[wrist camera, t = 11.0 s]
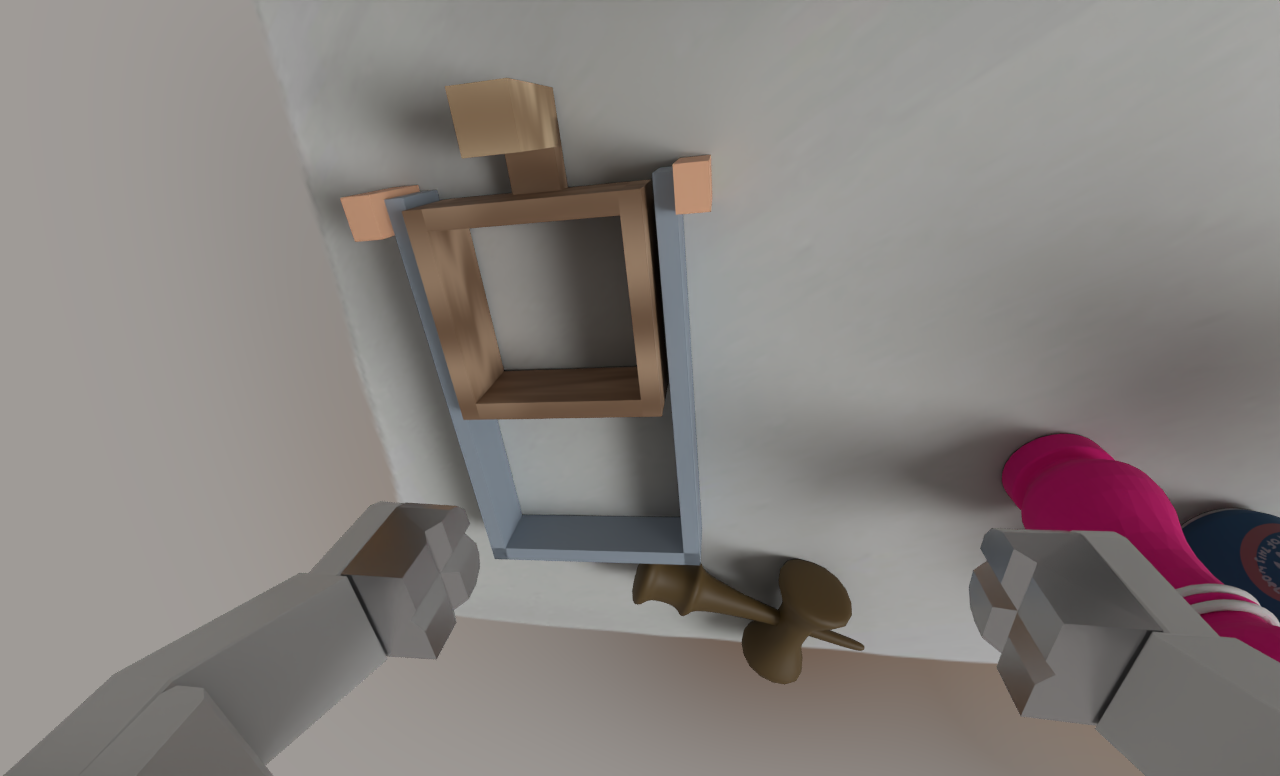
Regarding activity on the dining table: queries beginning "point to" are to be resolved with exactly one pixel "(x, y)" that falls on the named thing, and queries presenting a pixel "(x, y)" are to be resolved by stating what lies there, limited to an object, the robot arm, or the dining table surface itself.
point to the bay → (482, 439)
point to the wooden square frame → (533, 152)
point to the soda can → (1240, 551)
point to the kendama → (759, 610)
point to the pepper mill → (1129, 526)
